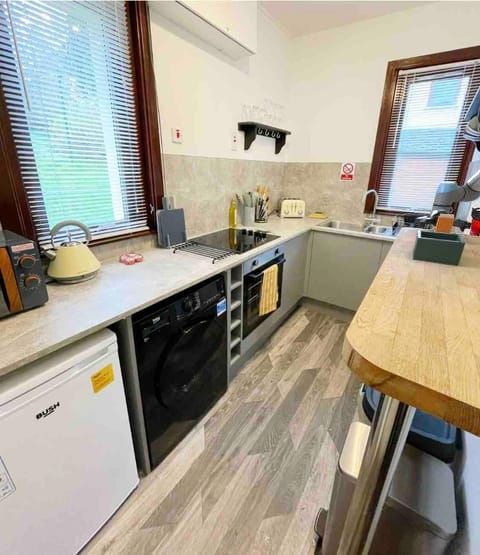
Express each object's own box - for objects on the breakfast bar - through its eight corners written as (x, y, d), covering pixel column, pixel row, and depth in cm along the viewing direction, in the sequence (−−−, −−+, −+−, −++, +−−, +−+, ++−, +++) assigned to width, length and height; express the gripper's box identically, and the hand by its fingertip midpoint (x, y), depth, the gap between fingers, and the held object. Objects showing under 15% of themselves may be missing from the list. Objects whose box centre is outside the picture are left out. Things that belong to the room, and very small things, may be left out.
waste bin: (454, 255, 97) (460, 234, 94) (458, 265, 87) (465, 242, 84) (413, 250, 103) (418, 230, 100) (412, 259, 93) (418, 237, 90)
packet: (446, 241, 115) (454, 214, 110) (447, 243, 111) (455, 215, 107) (432, 239, 117) (439, 213, 113) (432, 241, 114) (440, 214, 110)
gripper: (470, 229, 125) (478, 239, 108) (408, 223, 137) (406, 232, 120) (476, 212, 122) (485, 220, 106) (411, 208, 134) (410, 214, 118)
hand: (443, 226), depth 113 cm, fingers open, 13 cm apart
